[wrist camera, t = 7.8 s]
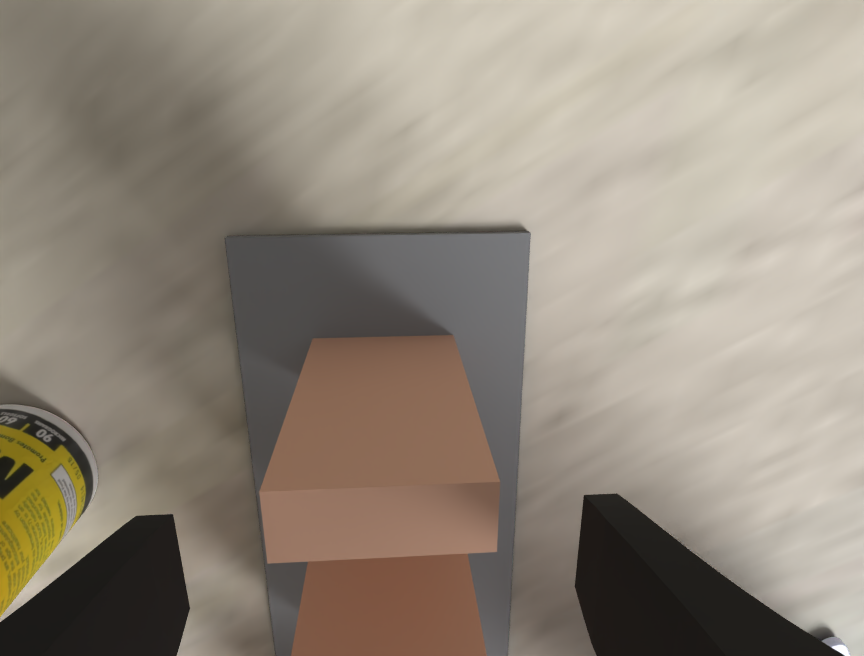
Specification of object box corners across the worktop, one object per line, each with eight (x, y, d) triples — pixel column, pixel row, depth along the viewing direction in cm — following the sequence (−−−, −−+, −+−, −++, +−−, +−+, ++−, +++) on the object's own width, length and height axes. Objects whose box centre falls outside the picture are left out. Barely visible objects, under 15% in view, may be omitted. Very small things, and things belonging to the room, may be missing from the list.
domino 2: (451, 510, 20) (489, 734, 13) (326, 516, 20) (290, 749, 13) (451, 471, 20) (492, 681, 12) (323, 476, 20) (283, 695, 12)
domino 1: (452, 381, 19) (497, 551, 11) (315, 385, 18) (267, 563, 11) (453, 334, 18) (500, 481, 11) (312, 338, 18) (259, 491, 10)
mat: (496, 831, 27) (497, 839, 27) (301, 848, 26) (300, 856, 26) (528, 231, 18) (530, 233, 17) (227, 236, 17) (224, 238, 17)
